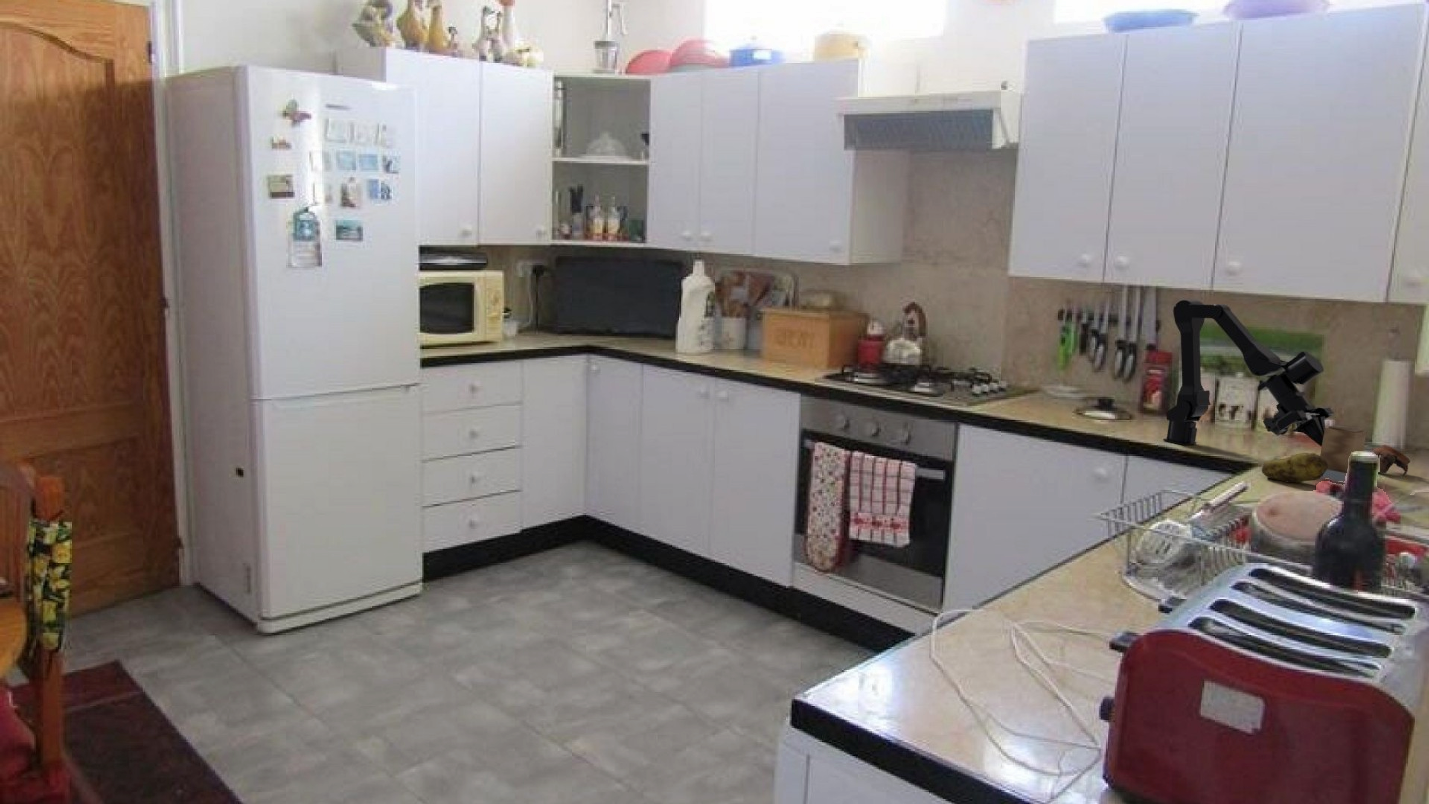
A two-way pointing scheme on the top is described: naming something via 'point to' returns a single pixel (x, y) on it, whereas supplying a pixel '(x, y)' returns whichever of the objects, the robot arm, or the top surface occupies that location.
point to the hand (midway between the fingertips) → (1325, 447)
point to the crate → (1341, 446)
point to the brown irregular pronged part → (1391, 459)
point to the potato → (1296, 468)
